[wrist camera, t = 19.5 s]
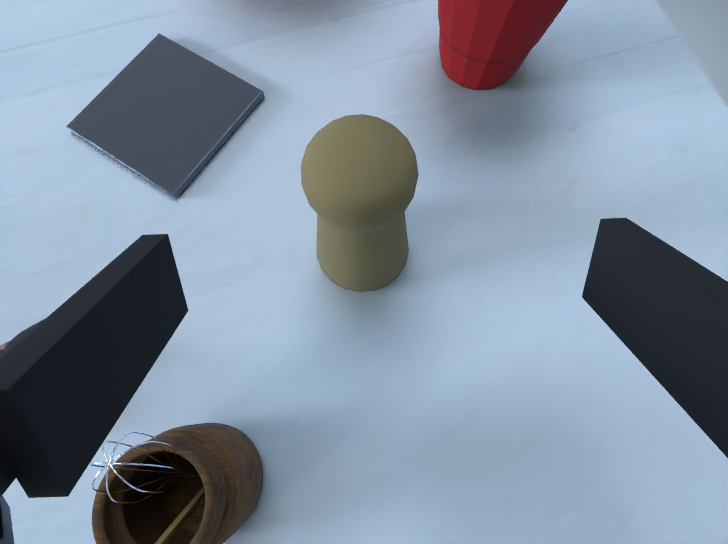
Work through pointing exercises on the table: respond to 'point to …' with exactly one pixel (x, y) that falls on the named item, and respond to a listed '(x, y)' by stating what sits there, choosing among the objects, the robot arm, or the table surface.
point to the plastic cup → (490, 37)
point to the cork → (360, 199)
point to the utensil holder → (178, 488)
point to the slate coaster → (166, 114)
